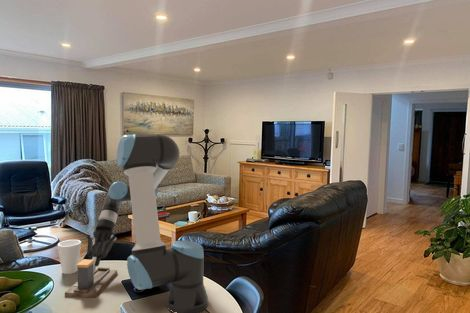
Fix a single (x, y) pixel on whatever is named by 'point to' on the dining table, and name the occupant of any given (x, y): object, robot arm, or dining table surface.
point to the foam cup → (69, 255)
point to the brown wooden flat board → (100, 281)
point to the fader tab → (85, 274)
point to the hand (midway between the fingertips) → (90, 273)
